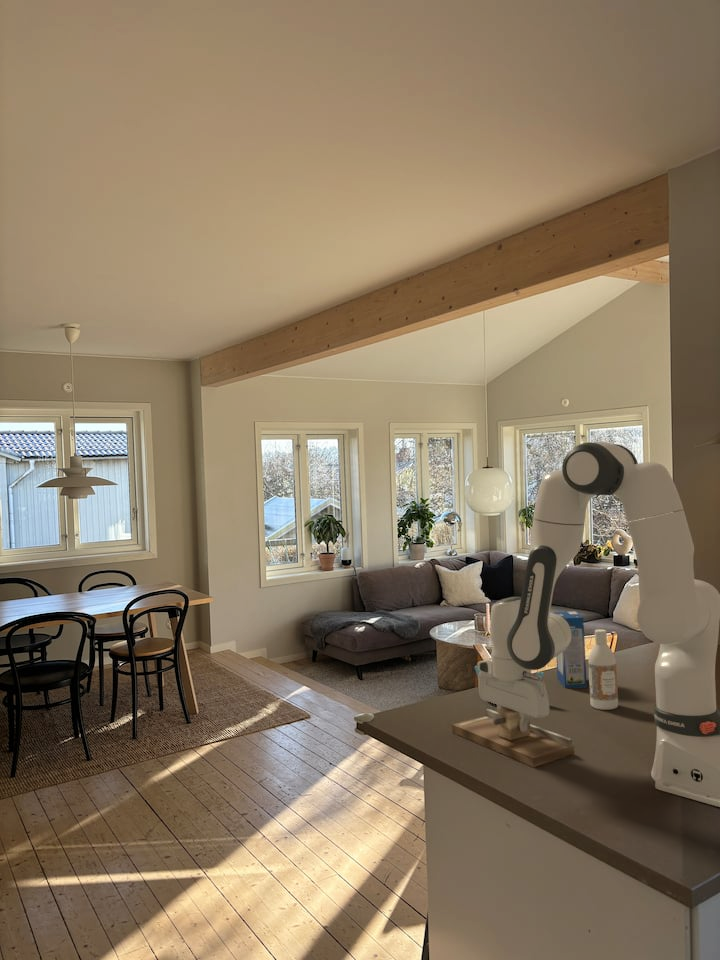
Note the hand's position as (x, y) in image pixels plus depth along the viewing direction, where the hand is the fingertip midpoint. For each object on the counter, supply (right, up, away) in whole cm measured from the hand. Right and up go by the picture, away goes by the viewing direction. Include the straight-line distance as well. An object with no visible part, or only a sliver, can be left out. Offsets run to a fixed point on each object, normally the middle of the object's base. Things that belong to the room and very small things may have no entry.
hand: (514, 727), depth 175 cm
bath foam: (+29, -3, +25) cm, 38 cm away
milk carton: (+27, -3, +48) cm, 55 cm away
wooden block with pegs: (0, -2, 0) cm, 2 cm away
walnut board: (-1, -4, +2) cm, 4 cm away
